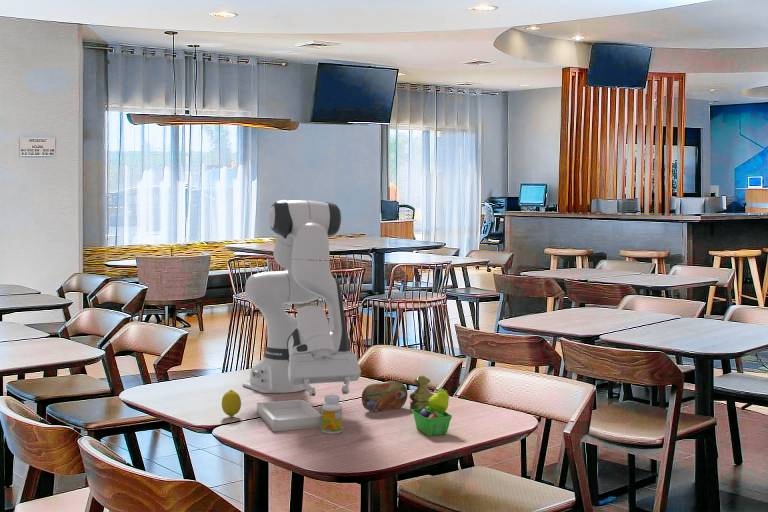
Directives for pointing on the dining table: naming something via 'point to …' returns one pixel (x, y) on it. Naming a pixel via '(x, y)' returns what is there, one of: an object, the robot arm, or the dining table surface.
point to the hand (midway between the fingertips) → (329, 393)
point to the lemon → (231, 403)
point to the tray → (289, 415)
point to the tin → (384, 396)
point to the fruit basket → (434, 415)
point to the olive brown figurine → (420, 394)
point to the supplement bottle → (331, 415)
